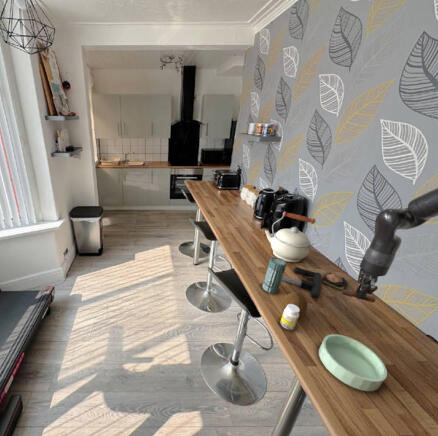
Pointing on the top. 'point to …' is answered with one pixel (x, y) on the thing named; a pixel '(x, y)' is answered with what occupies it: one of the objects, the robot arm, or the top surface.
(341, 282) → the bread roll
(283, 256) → the kettle
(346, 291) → the brown bar
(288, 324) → the supplement bottle
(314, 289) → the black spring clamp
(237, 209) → the top surface
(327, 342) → the bowl
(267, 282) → the can
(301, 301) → the potato
